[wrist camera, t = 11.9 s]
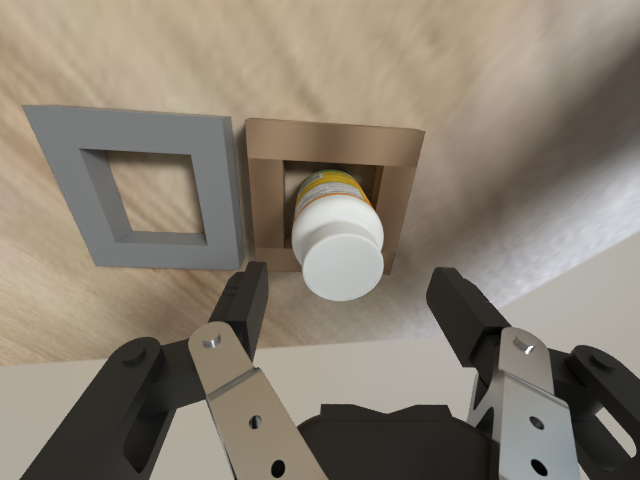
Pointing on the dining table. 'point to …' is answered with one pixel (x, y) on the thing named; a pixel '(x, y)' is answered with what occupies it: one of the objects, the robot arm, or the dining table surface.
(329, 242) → the supplement bottle
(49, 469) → the robot arm
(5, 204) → the dining table surface
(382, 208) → the socket
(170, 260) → the socket
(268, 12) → the dining table surface
